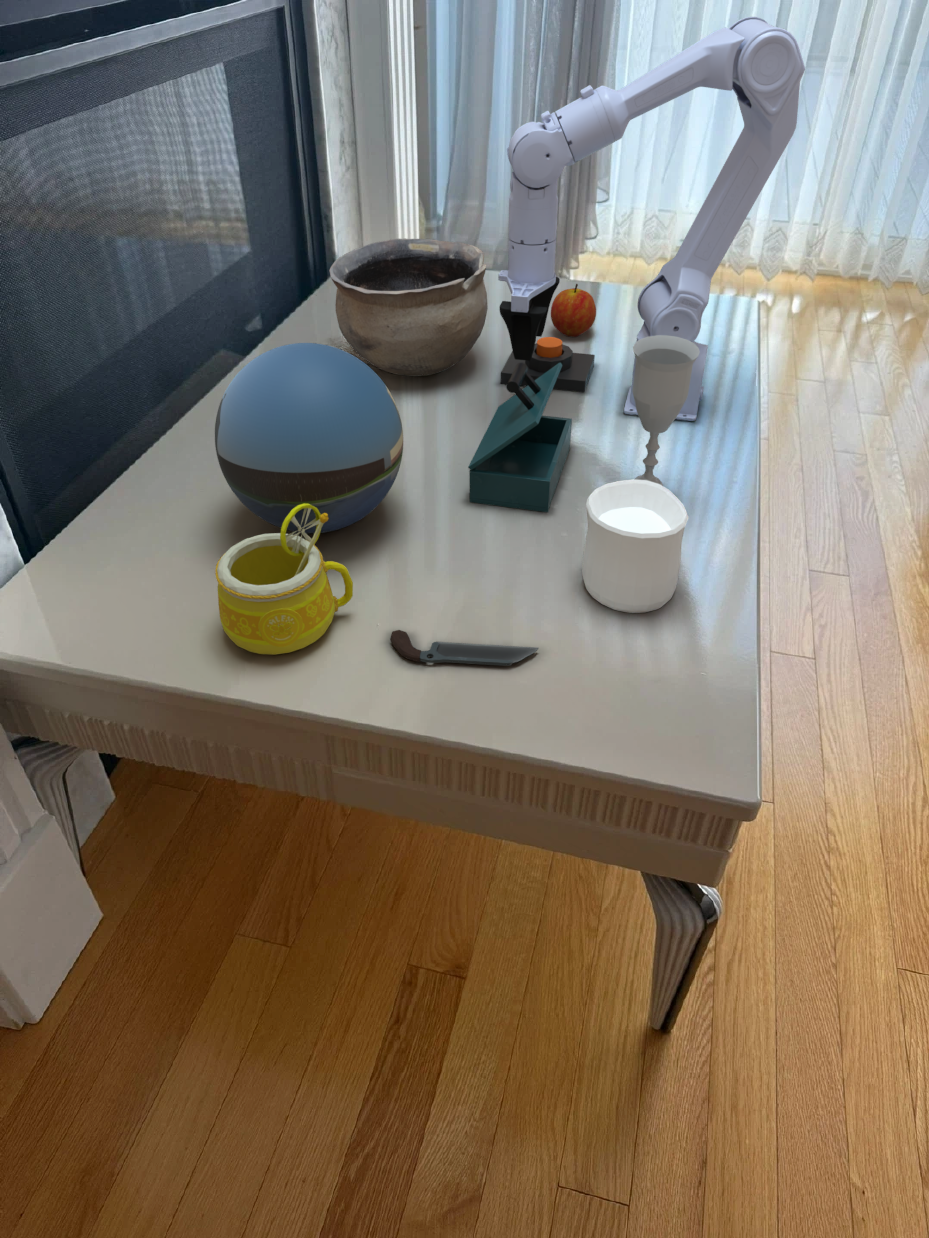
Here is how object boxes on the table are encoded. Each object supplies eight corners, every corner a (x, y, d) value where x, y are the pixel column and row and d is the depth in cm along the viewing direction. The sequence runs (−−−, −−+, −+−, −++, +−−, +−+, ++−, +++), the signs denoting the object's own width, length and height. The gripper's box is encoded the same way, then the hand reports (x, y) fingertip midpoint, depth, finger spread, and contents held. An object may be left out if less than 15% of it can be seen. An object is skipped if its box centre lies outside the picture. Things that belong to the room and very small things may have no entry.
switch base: (593, 365, 132) (595, 342, 130) (584, 392, 125) (586, 368, 123) (514, 357, 134) (514, 335, 132) (500, 383, 128) (500, 360, 125)
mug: (228, 674, 82) (202, 569, 74) (220, 602, 90) (196, 500, 83) (366, 648, 85) (355, 544, 77) (347, 580, 93) (335, 480, 85)
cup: (611, 546, 97) (620, 467, 91) (694, 581, 92) (710, 500, 86) (560, 589, 91) (566, 508, 85) (646, 629, 86) (659, 546, 80)
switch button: (563, 350, 129) (564, 338, 128) (559, 360, 126) (560, 348, 125) (539, 347, 130) (539, 335, 128) (534, 357, 127) (534, 345, 126)
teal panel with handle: (562, 365, 107) (539, 336, 105) (538, 424, 96) (512, 393, 94) (500, 409, 113) (477, 382, 111) (470, 470, 101) (444, 441, 100)
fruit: (541, 330, 142) (543, 279, 137) (579, 323, 144) (583, 272, 139) (563, 346, 137) (566, 294, 132) (602, 338, 139) (607, 286, 134)
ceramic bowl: (475, 402, 123) (474, 293, 114) (321, 392, 126) (308, 285, 116) (496, 337, 140) (497, 238, 130) (360, 330, 143) (351, 232, 133)
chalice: (674, 518, 101) (699, 367, 89) (613, 512, 102) (630, 361, 90) (675, 484, 106) (699, 337, 95) (618, 479, 108) (634, 333, 96)
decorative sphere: (207, 563, 95) (165, 388, 83) (264, 469, 110) (236, 308, 97) (388, 578, 93) (373, 399, 80) (421, 479, 108) (413, 316, 95)
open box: (570, 448, 113) (572, 418, 111) (547, 512, 102) (549, 481, 100) (498, 439, 115) (499, 410, 113) (469, 502, 104) (469, 471, 101)
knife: (385, 661, 83) (385, 656, 83) (392, 633, 86) (392, 628, 86) (537, 670, 82) (537, 665, 81) (539, 642, 85) (539, 636, 85)
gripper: (511, 218, 114) (509, 322, 123) (486, 255, 103) (486, 367, 112) (567, 221, 112) (561, 327, 121) (547, 259, 102) (542, 372, 110)
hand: (528, 346), depth 116 cm, fingers open, 7 cm apart
